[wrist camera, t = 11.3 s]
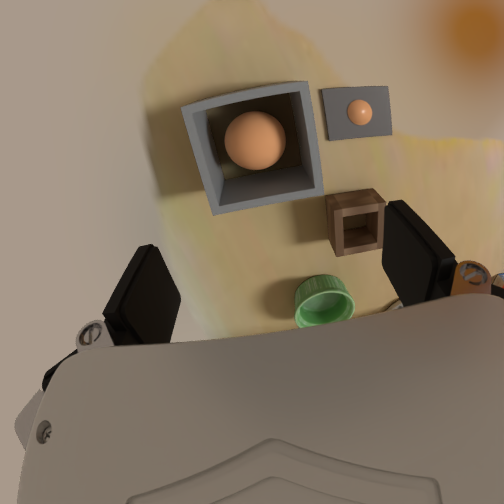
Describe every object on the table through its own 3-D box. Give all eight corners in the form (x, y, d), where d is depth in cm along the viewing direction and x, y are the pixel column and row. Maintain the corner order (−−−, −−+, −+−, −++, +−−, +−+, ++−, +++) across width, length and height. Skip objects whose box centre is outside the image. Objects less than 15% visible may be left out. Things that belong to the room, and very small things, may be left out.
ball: (277, 103, 26) (282, 109, 21) (287, 155, 30) (294, 172, 25) (221, 115, 27) (214, 122, 22) (234, 165, 30) (230, 184, 25)
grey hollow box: (294, 80, 25) (307, 80, 19) (309, 170, 31) (324, 194, 25) (195, 101, 26) (180, 107, 20) (219, 187, 32) (213, 215, 26)
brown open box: (373, 188, 32) (386, 202, 28) (372, 231, 35) (383, 247, 32) (325, 195, 32) (333, 210, 29) (328, 239, 36) (336, 257, 33)
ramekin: (355, 297, 43) (362, 316, 39) (306, 320, 45) (310, 340, 42) (334, 260, 38) (342, 281, 35) (280, 288, 41) (283, 310, 38)
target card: (386, 86, 24) (388, 86, 24) (391, 134, 28) (392, 135, 27) (321, 89, 25) (322, 89, 25) (328, 140, 28) (329, 141, 28)
